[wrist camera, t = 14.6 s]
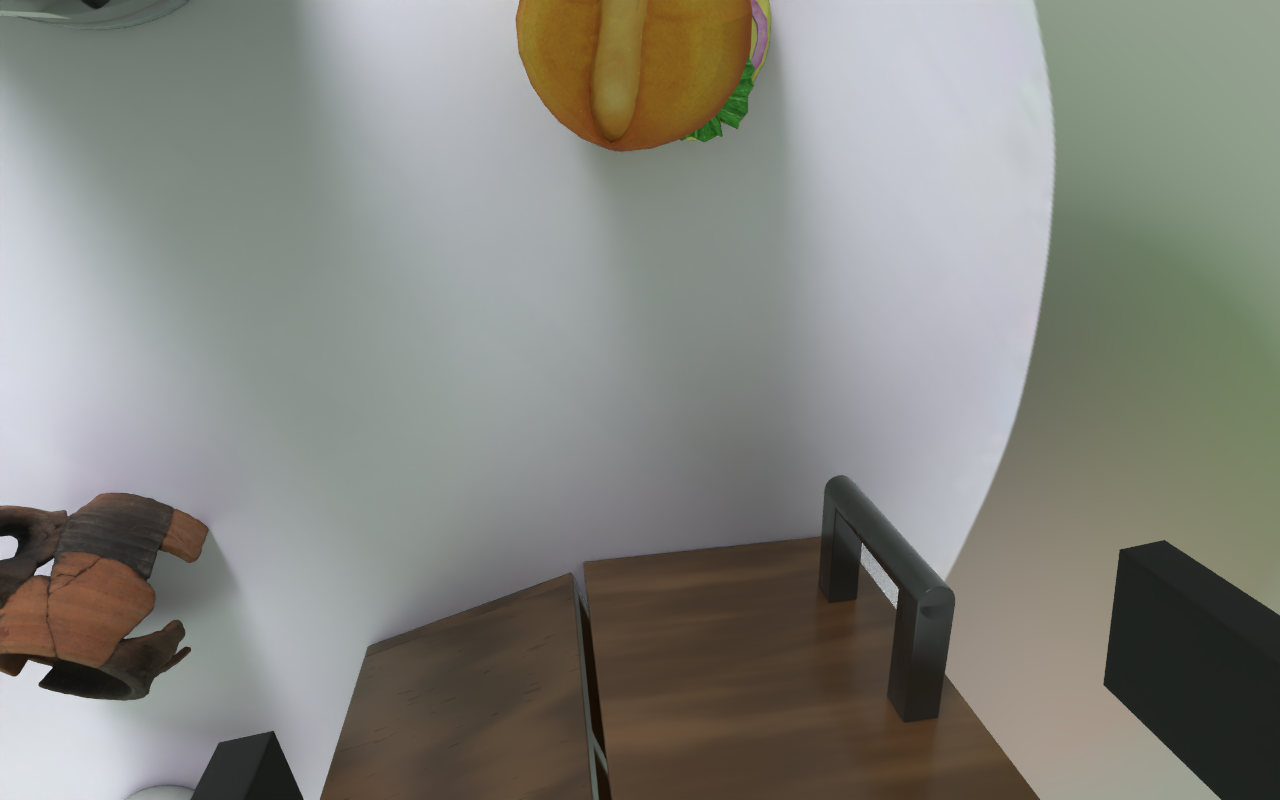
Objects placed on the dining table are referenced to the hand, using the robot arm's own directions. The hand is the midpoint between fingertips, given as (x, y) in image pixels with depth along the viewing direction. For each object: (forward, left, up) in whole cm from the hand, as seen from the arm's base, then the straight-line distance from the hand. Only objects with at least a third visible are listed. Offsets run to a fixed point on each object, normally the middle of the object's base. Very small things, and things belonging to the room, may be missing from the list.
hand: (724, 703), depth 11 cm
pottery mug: (+25, -15, -29) cm, 41 cm away
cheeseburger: (-12, -4, -29) cm, 32 cm away
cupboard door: (+7, +13, -28) cm, 32 cm away
